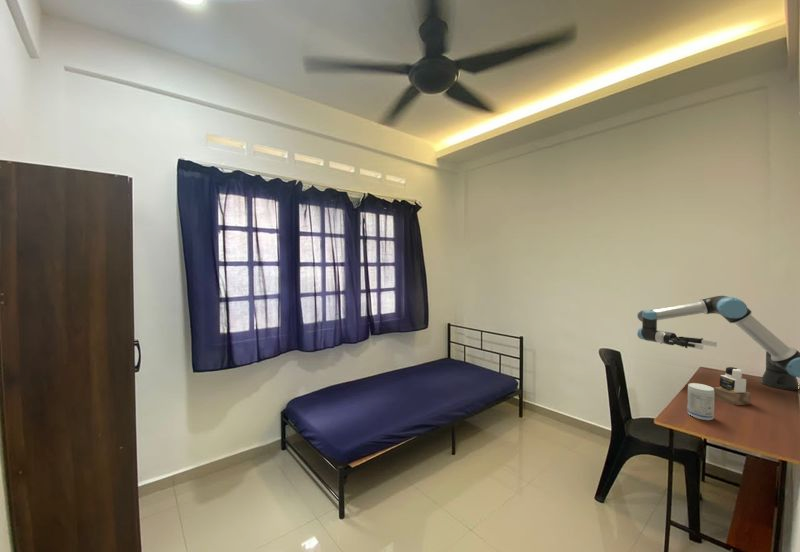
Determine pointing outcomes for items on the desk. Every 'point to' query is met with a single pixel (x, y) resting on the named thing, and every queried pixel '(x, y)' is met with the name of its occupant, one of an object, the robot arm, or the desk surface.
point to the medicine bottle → (733, 381)
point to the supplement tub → (700, 401)
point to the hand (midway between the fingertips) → (709, 345)
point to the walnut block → (732, 396)
